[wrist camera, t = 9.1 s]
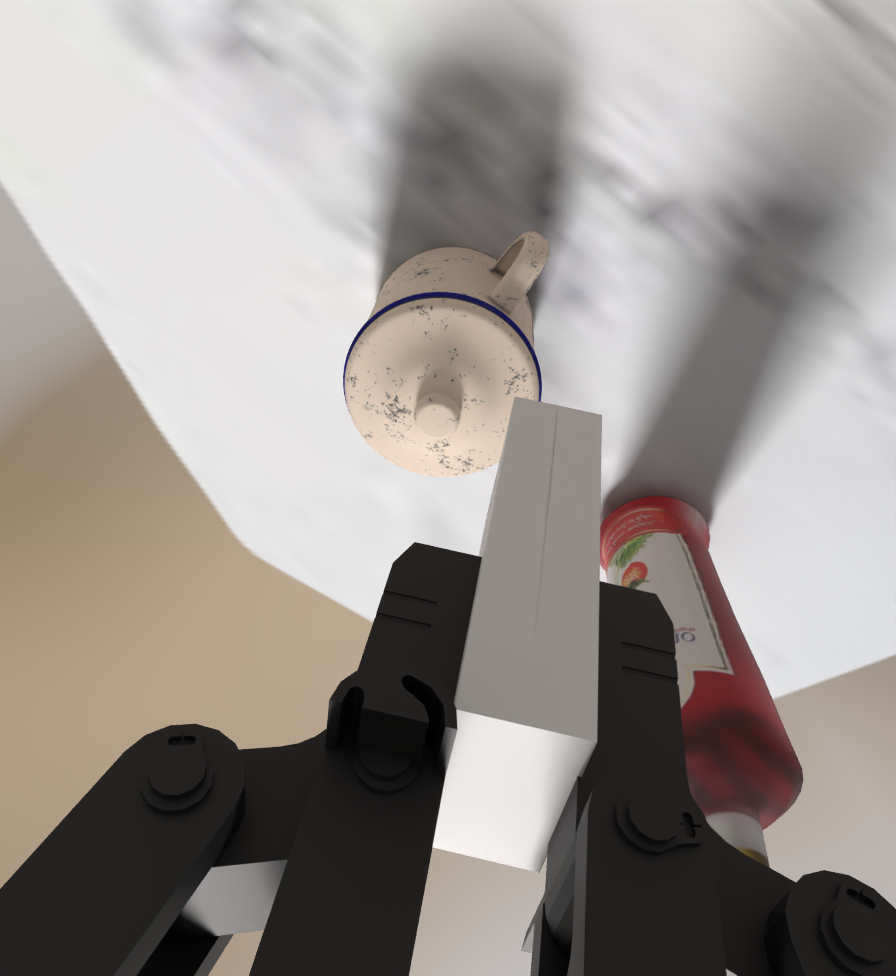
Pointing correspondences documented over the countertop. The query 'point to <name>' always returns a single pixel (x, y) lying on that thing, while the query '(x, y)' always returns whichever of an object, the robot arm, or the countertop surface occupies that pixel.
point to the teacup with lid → (447, 358)
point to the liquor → (708, 671)
